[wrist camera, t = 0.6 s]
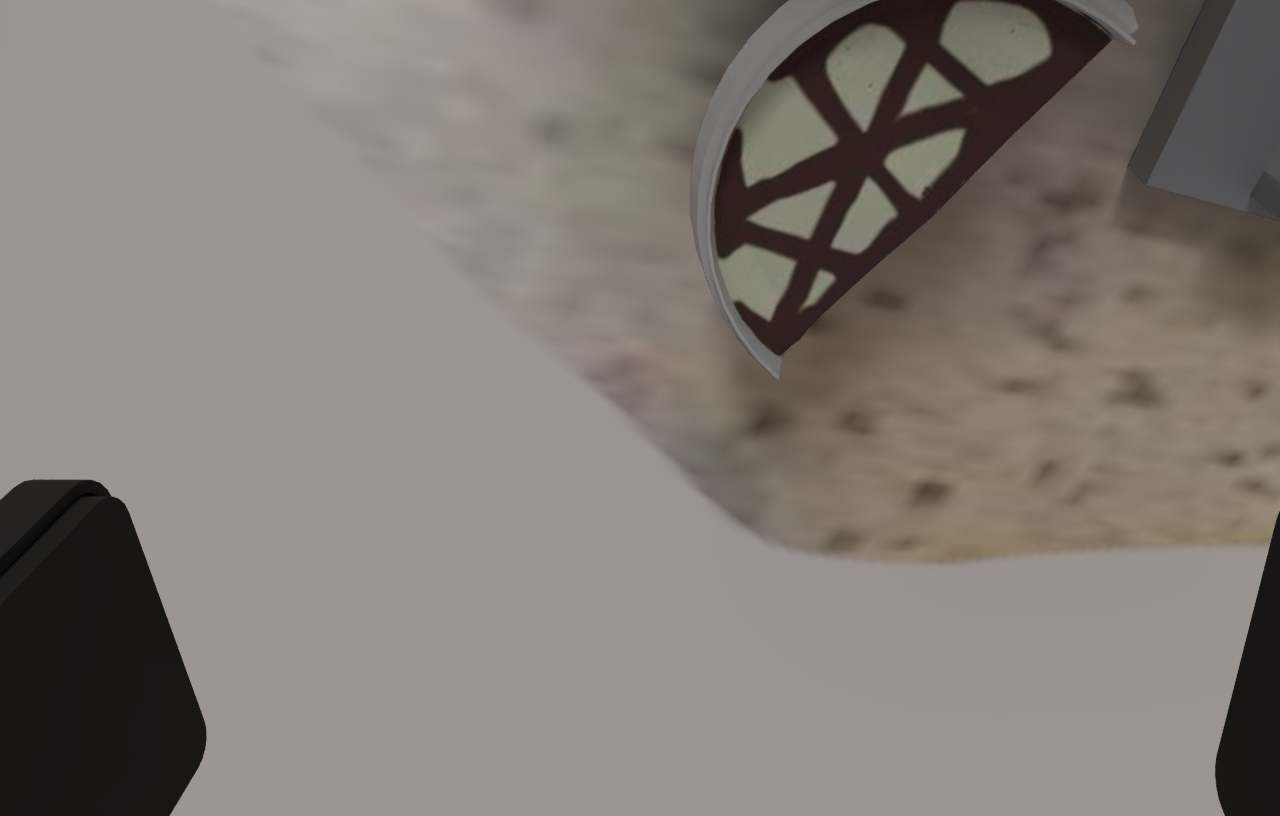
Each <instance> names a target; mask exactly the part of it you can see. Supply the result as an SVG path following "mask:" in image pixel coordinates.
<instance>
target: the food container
mask: <svg viewBox="0 0 1280 816" xmlns="http://www.w3.org/2000/svg"><path fill="white" fill-rule="evenodd" d="M1138 28H1139V26H1138V23H1137V20H1136V16H1135V13H1134V10H1133V7H1132V6H1131V5H1130V4H1129V3H1128V2H1126V1H1125V0H789V1H787V2H786V3H785V4H783V5H782V6H781V7H780V8H779V9H778V10H777V11H776V12H775V13H774V14H773V15H772V16H771V17H770V18H769V19H768V20H767V21H766V22H765V23H764V24H763V25H762V26H761V27H760V28H759V29H758V30H757V31H756V32H755V33H754V34H753V35H752V36H751V37H750V38H749V39H748V41H747V42H746V44H745V45H744V46H743V48H742V49H741V50H740V52H739V53H738V54H737V56H736V57H735V58H734V60H733V61H732V63H731V64H730V65H729V67H728V68H727V69H726V71H725V73H724V75H723V77H722V79H721V81H720V83H719V85H718V87H717V89H716V91H715V93H714V95H713V97H712V98H711V100H710V102H709V104H708V107H707V110H706V113H705V116H704V119H703V122H702V125H701V128H700V131H699V134H698V137H697V140H696V146H695V152H694V158H693V164H692V170H691V176H690V214H691V220H692V227H693V233H694V239H695V245H696V249H697V252H698V255H699V258H700V261H701V264H702V267H703V270H704V273H705V276H706V279H707V282H708V284H709V287H710V290H711V292H712V295H713V297H714V299H715V301H716V303H717V305H718V307H719V309H720V311H721V313H722V315H723V317H724V319H725V320H726V322H727V324H728V326H729V328H730V329H731V330H732V332H733V333H734V334H735V336H736V337H737V338H738V340H739V341H740V342H741V344H742V345H743V346H744V347H745V349H746V350H747V351H748V353H749V354H750V355H751V356H752V357H753V358H754V359H755V360H756V361H757V362H758V363H759V364H760V365H762V366H763V367H764V368H765V369H766V370H767V371H768V372H769V373H770V374H772V375H773V376H774V377H775V378H776V379H777V380H778V379H779V378H780V372H781V366H782V359H783V353H784V352H785V351H786V350H787V349H788V348H789V347H790V346H791V345H793V344H794V343H795V342H797V341H798V340H799V339H801V337H802V336H803V335H804V333H805V332H806V331H807V330H808V328H809V327H810V326H811V325H812V324H813V323H814V322H815V321H816V320H817V319H818V318H819V317H820V316H821V315H822V314H823V313H824V312H826V311H827V310H828V309H829V308H830V307H831V306H832V305H833V304H834V303H835V302H836V301H837V300H838V299H840V298H841V297H842V296H843V295H844V294H845V293H846V292H847V291H848V290H849V289H850V288H851V287H852V286H854V285H855V284H856V283H857V282H858V281H859V280H860V279H861V278H862V277H864V276H865V275H866V274H867V273H868V272H869V271H870V270H871V269H872V268H874V267H875V266H876V265H877V264H878V263H879V262H880V261H881V260H883V259H884V258H885V257H886V256H887V255H888V254H890V253H891V252H892V251H893V250H894V249H895V248H897V247H898V246H899V245H900V244H901V243H903V242H904V241H905V240H906V239H907V238H908V237H909V236H911V235H912V234H913V233H914V232H915V231H916V230H917V229H919V228H920V227H921V226H922V225H923V224H924V223H925V222H927V221H928V220H929V219H930V218H931V217H932V216H933V215H934V214H935V213H936V212H937V211H938V210H939V209H940V208H941V207H942V206H943V205H944V204H945V203H946V202H947V201H948V200H949V199H950V198H951V197H952V196H953V195H954V194H955V193H956V192H957V191H958V190H959V189H960V188H961V187H962V186H963V185H964V183H965V182H966V181H967V180H968V179H969V178H970V177H971V176H972V175H973V174H974V173H975V172H976V171H977V170H978V169H979V168H980V167H981V166H982V165H983V164H984V163H985V162H986V161H987V160H988V159H989V158H990V157H991V156H992V155H993V154H994V153H995V152H996V151H997V150H998V149H999V148H1000V147H1001V146H1002V145H1003V144H1004V143H1005V142H1006V141H1007V140H1008V139H1009V138H1010V137H1011V136H1012V135H1013V134H1014V133H1015V132H1016V131H1017V130H1018V129H1019V128H1020V127H1021V126H1022V125H1023V124H1024V123H1026V122H1027V121H1028V120H1029V119H1030V118H1031V117H1032V116H1033V115H1034V114H1035V113H1036V112H1037V111H1038V110H1039V109H1040V108H1041V107H1042V106H1043V105H1044V104H1045V103H1047V102H1048V101H1049V100H1050V99H1051V98H1052V97H1053V96H1054V95H1055V94H1056V93H1057V92H1058V91H1059V90H1060V89H1061V88H1062V87H1063V86H1064V85H1065V84H1066V83H1068V82H1069V81H1070V80H1071V79H1072V78H1073V77H1074V76H1075V75H1076V74H1077V73H1078V72H1079V71H1080V70H1081V69H1082V68H1083V67H1084V66H1085V65H1086V64H1087V63H1088V62H1089V61H1091V60H1092V59H1093V58H1094V57H1095V56H1096V55H1097V54H1098V53H1099V52H1100V51H1101V50H1102V49H1103V48H1104V47H1105V46H1106V45H1107V44H1108V43H1109V42H1110V41H1111V40H1112V39H1115V40H1118V41H1121V42H1125V43H1128V44H1131V45H1135V44H1136V43H1137V42H1136V41H1135V40H1134V39H1133V38H1132V37H1131V36H1130V35H1131V34H1133V33H1134V32H1135V31H1136V30H1137V29H1138Z"/></svg>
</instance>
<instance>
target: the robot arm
mask: <svg viewBox="0 0 1280 816" xmlns="http://www.w3.org/2000/svg"><path fill="white" fill-rule="evenodd" d="M205 746H206V726H205V721H204V718H203V716H202V713H201V710H200V708H199V705H198V702H197V699H196V696H195V694H194V691H193V688H192V685H191V682H190V680H189V677H188V674H187V672H186V669H185V666H184V663H183V661H182V658H181V655H180V652H179V649H178V646H177V644H176V641H175V638H174V635H173V633H172V630H171V627H170V624H169V622H168V619H167V616H166V614H165V611H164V608H163V605H162V602H161V599H160V597H159V594H158V591H157V589H156V586H155V583H154V581H153V577H152V575H151V572H150V569H149V566H148V564H147V561H146V558H145V555H144V552H143V550H142V547H141V544H140V541H139V539H138V536H137V533H136V531H135V528H134V525H133V522H132V520H131V517H130V514H129V512H128V510H127V508H126V506H125V504H124V503H123V502H122V501H121V500H120V499H118V498H115V497H112V496H111V495H110V493H109V492H108V490H107V489H106V488H105V487H104V486H103V485H102V484H101V483H99V482H96V481H93V480H30V481H24V482H22V483H21V484H19V485H18V486H16V487H14V488H13V489H12V490H11V491H10V492H9V493H8V494H7V495H6V496H4V497H3V498H2V499H1V500H0V816H170V814H171V812H172V811H173V809H174V807H175V806H176V804H177V802H178V801H179V799H180V797H181V796H182V794H183V792H184V791H185V789H186V787H187V786H188V784H189V782H190V781H191V779H192V777H193V776H194V774H195V772H196V771H197V769H198V767H199V765H200V763H201V761H202V758H203V755H204V751H205ZM1215 778H1216V787H1217V792H1218V797H1219V801H1220V804H1221V807H1222V809H1223V812H1224V814H1225V816H1280V512H1279V514H1278V517H1277V520H1276V524H1275V528H1274V532H1273V535H1272V539H1271V543H1270V547H1269V551H1268V556H1267V559H1266V563H1265V567H1264V571H1263V575H1262V579H1261V583H1260V587H1259V591H1258V595H1257V599H1256V603H1255V607H1254V611H1253V614H1252V618H1251V622H1250V626H1249V630H1248V634H1247V638H1246V642H1245V646H1244V650H1243V654H1242V658H1241V662H1240V666H1239V670H1238V674H1237V678H1236V681H1235V686H1234V690H1233V694H1232V698H1231V701H1230V705H1229V709H1228V713H1227V717H1226V721H1225V725H1224V729H1223V733H1222V737H1221V741H1220V745H1219V749H1218V752H1217V757H1216V765H1215Z"/></svg>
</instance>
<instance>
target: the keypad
mask: <svg viewBox="0 0 1280 816" xmlns="http://www.w3.org/2000/svg"><path fill="white" fill-rule="evenodd" d="M1128 166H1129V167H1130V168H1131V169H1132V170H1133V172H1134V173H1135V174H1136V175H1137V176H1138V177H1139V178H1140V179H1141V180H1142V182H1143V183H1144V184H1145V185H1147V186H1150V187H1154V188H1158V189H1162V190H1165V191H1169V192H1173V193H1177V194H1181V195H1184V196H1188V197H1192V198H1196V199H1199V200H1203V201H1207V202H1211V203H1215V204H1218V205H1222V206H1226V207H1230V208H1233V209H1237V210H1241V211H1245V212H1249V213H1252V214H1256V215H1260V216H1264V217H1267V218H1271V219H1275V220H1279V221H1280V0H1206V2H1205V4H1204V6H1203V8H1202V10H1201V12H1200V14H1199V16H1198V18H1197V21H1196V23H1195V25H1194V27H1193V29H1192V31H1191V33H1190V35H1189V37H1188V40H1187V42H1186V44H1185V46H1184V48H1183V50H1182V52H1181V54H1180V57H1179V59H1178V61H1177V63H1176V65H1175V67H1174V69H1173V71H1172V73H1171V76H1170V78H1169V80H1168V82H1167V84H1166V86H1165V88H1164V90H1163V93H1162V95H1161V97H1160V99H1159V101H1158V103H1157V105H1156V107H1155V109H1154V112H1153V114H1152V116H1151V118H1150V120H1149V122H1148V124H1147V126H1146V128H1145V131H1144V133H1143V135H1142V137H1141V139H1140V141H1139V143H1138V145H1137V148H1136V150H1135V152H1134V154H1133V156H1132V158H1131V160H1130V162H1129V164H1128Z"/></svg>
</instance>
